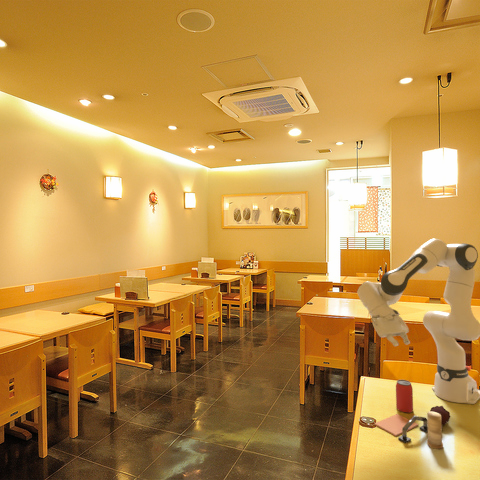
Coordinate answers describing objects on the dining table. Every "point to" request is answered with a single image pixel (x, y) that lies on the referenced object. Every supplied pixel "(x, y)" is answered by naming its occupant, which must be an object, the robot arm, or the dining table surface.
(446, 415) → the icecream
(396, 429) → the tile
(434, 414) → the birch post
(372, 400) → the dining table surface
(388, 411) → the dining table surface
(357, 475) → the dining table surface
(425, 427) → the bent metal handle
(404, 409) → the beer can
